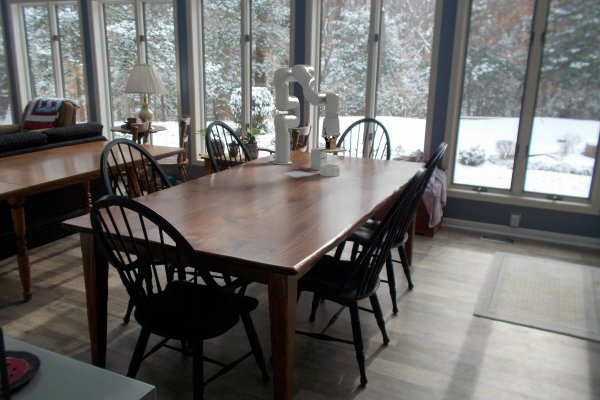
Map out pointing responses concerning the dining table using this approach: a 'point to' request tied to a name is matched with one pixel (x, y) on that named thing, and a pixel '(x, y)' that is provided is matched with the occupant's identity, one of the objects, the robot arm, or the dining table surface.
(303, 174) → the mat
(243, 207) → the dining table surface
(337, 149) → the lid
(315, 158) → the supplement box
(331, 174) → the bowl
